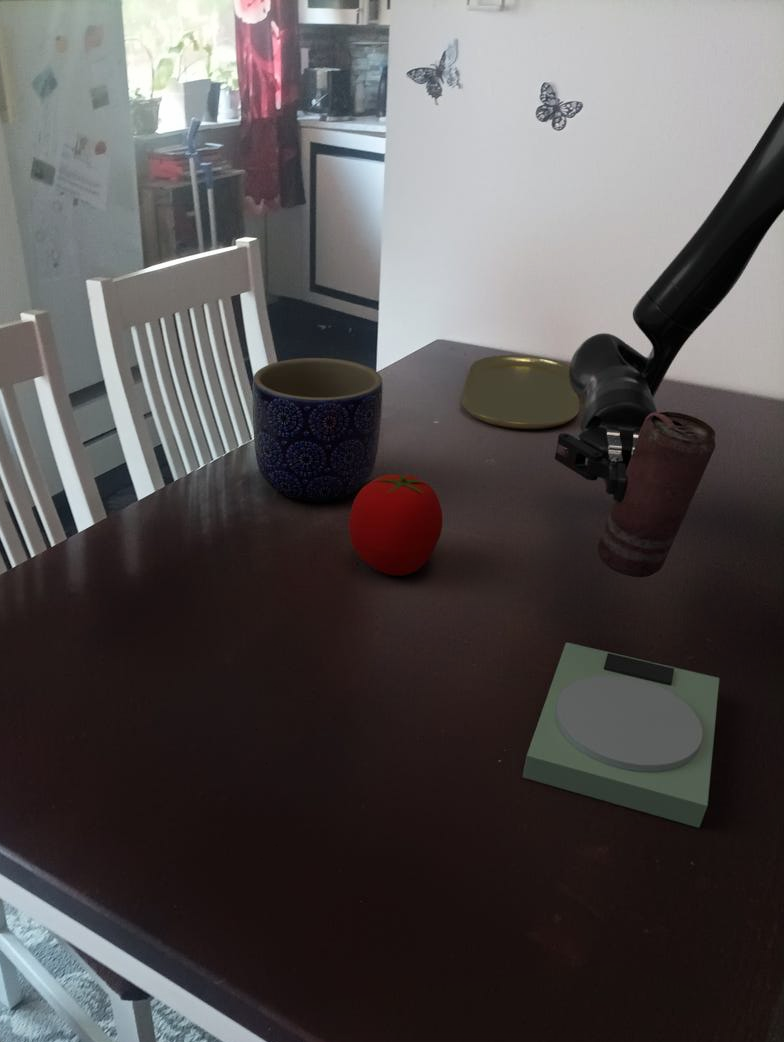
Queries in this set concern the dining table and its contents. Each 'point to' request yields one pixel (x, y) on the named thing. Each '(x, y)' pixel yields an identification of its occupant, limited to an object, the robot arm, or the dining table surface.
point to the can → (656, 492)
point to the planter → (316, 426)
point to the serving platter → (520, 392)
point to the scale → (627, 734)
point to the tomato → (395, 523)
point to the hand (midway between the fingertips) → (626, 491)
